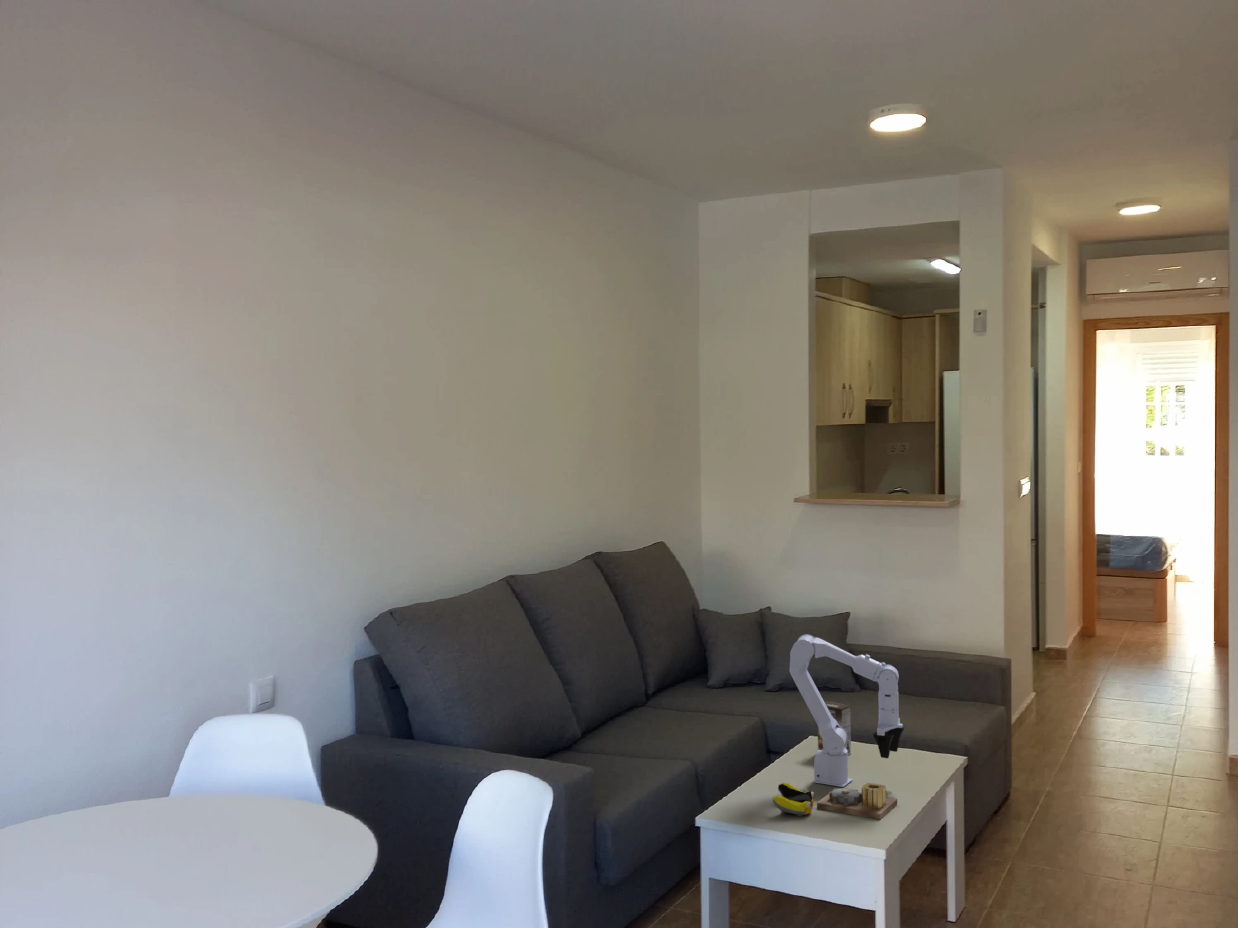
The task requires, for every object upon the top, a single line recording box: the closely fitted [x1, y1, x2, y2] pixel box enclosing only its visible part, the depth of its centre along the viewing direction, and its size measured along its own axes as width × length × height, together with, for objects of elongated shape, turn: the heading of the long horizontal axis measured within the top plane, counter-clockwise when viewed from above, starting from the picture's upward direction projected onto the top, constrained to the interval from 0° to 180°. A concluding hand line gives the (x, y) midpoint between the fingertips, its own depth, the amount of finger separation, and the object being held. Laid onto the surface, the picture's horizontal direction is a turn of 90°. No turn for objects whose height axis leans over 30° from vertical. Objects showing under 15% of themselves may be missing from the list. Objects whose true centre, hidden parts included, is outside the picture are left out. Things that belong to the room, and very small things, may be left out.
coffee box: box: [817, 700, 852, 756], centre depth 349 cm, size 9×6×16 cm
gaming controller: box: [772, 782, 814, 817], centre depth 297 cm, size 15×6×10 cm
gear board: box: [816, 787, 898, 820], centre depth 299 cm, size 18×14×4 cm
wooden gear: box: [861, 782, 887, 809], centre depth 296 cm, size 6×6×5 cm
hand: (889, 754), depth 316 cm, fingers open, 7 cm apart
